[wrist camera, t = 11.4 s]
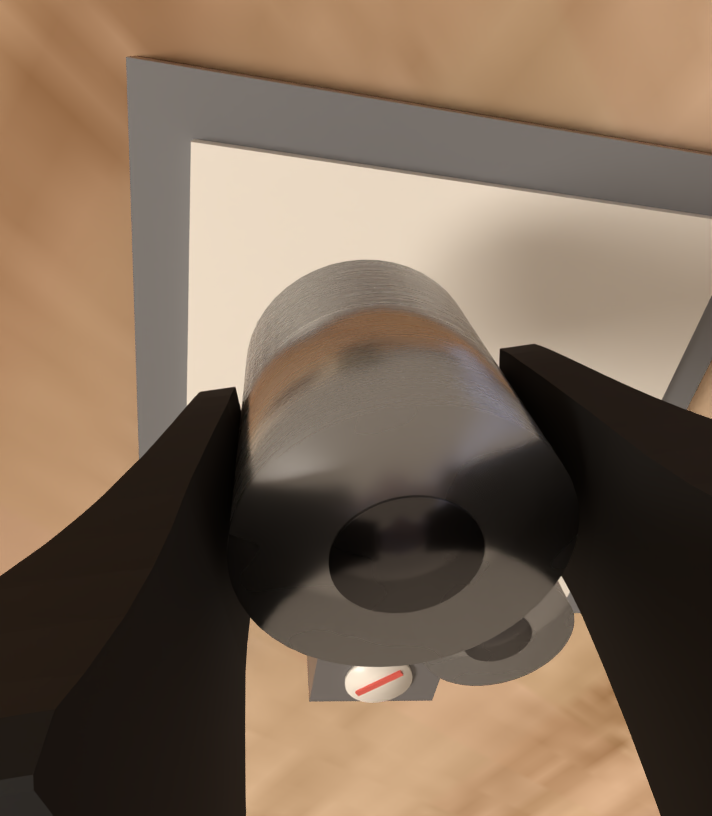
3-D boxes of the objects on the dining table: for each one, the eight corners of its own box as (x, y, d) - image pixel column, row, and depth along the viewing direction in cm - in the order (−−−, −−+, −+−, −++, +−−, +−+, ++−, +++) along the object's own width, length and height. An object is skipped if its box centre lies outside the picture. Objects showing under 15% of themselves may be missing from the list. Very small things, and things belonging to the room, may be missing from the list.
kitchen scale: (781, 165, 18) (876, 189, 15) (551, 639, 28) (581, 705, 25) (134, 56, 14) (101, 60, 12) (150, 635, 25) (133, 710, 22)
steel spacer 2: (483, 445, 20) (540, 558, 16) (534, 526, 22) (596, 645, 18) (367, 508, 21) (390, 632, 16) (427, 580, 23) (462, 705, 19)
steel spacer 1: (453, 228, 11) (569, 359, 6) (487, 430, 13) (589, 623, 9) (210, 299, 11) (164, 474, 7) (288, 485, 13) (292, 702, 9)
